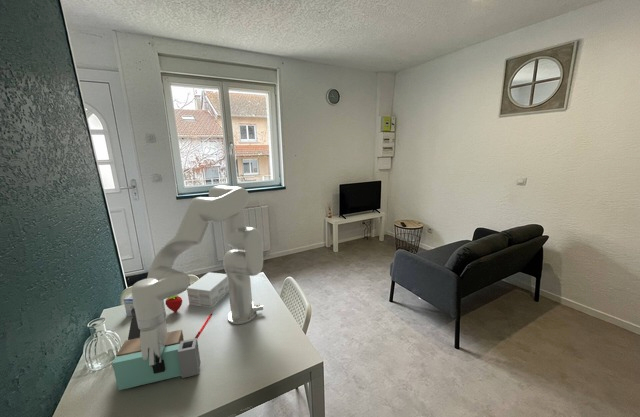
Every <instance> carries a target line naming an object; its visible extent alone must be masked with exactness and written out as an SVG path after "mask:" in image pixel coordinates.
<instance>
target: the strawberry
mask: <svg viewBox="0 0 640 417" xmlns="http://www.w3.org/2000/svg"><path fill="white" fill-rule="evenodd" d="M182 304H183V299H182V297H181V296H180V295H179V294H178V295H175V296H172V297H169V298H166V299H165V305H166V307H167V308H168V309H169V310H171V311H172V312H174V313H178V310H179V309H180V308H181V307H182Z"/></svg>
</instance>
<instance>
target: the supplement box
mask: <svg viewBox="0 0 640 417" xmlns="http://www.w3.org/2000/svg"><path fill="white" fill-rule="evenodd" d="M186 291H187V293H186V294H187V297H188V304H189V305H190V306H197V307H198V306H199V307H205V308H210V309H211V308H212V309H213V307H215V306H216V304H218V302H219V301H221V300H222V299H223V298H224V297H225V296H226V295H227V294H229V289H228V280H227V275H226V273H218V272H207V273H206V274H204V275H203V276H201V277H200V278H199V279H198V280H196V281H194V282H193V283H192V284H189V286H188V288H187V289H186Z"/></svg>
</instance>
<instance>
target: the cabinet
mask: <svg viewBox="0 0 640 417" xmlns="http://www.w3.org/2000/svg"><path fill="white" fill-rule="evenodd" d="M167 332H168V331H167ZM181 341H185V340H184V334H183V329H179V330H173V331H169V332H168V338H167V342H166V344H165V346H166V347H167V346H172V345H176V344H180V342H181ZM138 352H141V343H140V338H136V339H131V340H128V339H127V340H124V342H123V343H122V344H121V346H120V349H119V350H118V352H117V353H116V357H118V356H123V355H128V354H133V353H138Z"/></svg>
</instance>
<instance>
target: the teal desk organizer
mask: <svg viewBox="0 0 640 417" xmlns="http://www.w3.org/2000/svg"><path fill="white" fill-rule="evenodd" d="M156 358H159V357H155V359H156ZM162 360H164V365H165V371H164V372H160V373H156V374H154V373H153V368H152V366H149V356H148V358H147V360H143V358H142V352H138V353H133V354H128V355H123V356H118V357H117V356H116V357H115V358H114V359H113V362H112V363H111V364H112V369H113V372H114V378H115V382H116V386H117V390H118V391H123V390H126V389H130V388H135V387H138V386H143V385H146V384H147V385H148V384H152V383H156V382H159V381H163V380H164V381H165V380H168V379H172V378H176V377H181V379H185V378H189V377H193V376H196V375H199V372H200V367H201V356H200V350H199V342H198V338H195V337H193V338H190V339H185V340H184V341H181V342H180V344H176V345H172V346H167V347H164V350H163V352H162Z"/></svg>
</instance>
